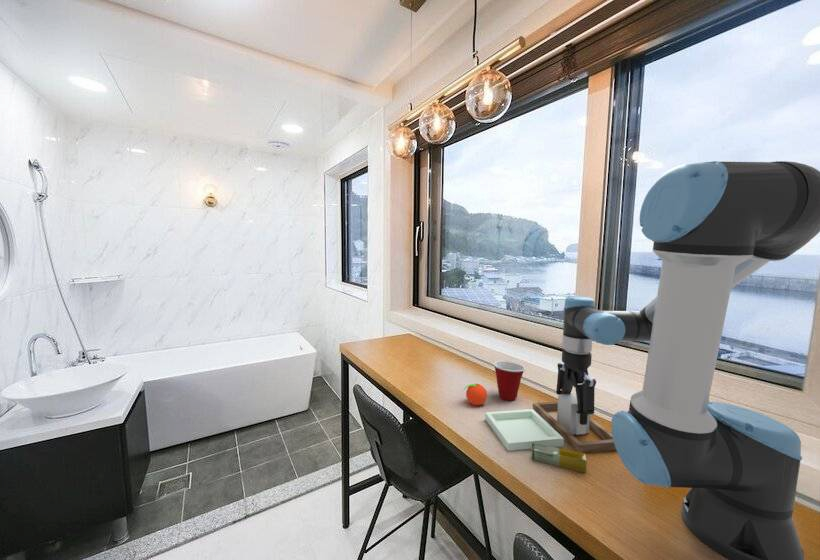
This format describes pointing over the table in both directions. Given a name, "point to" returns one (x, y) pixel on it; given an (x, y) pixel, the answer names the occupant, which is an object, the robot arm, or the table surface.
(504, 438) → the tray
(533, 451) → the medication box
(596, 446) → the brown wooden frame
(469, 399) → the clementine
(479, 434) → the table surface
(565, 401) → the stone block
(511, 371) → the plastic cup
